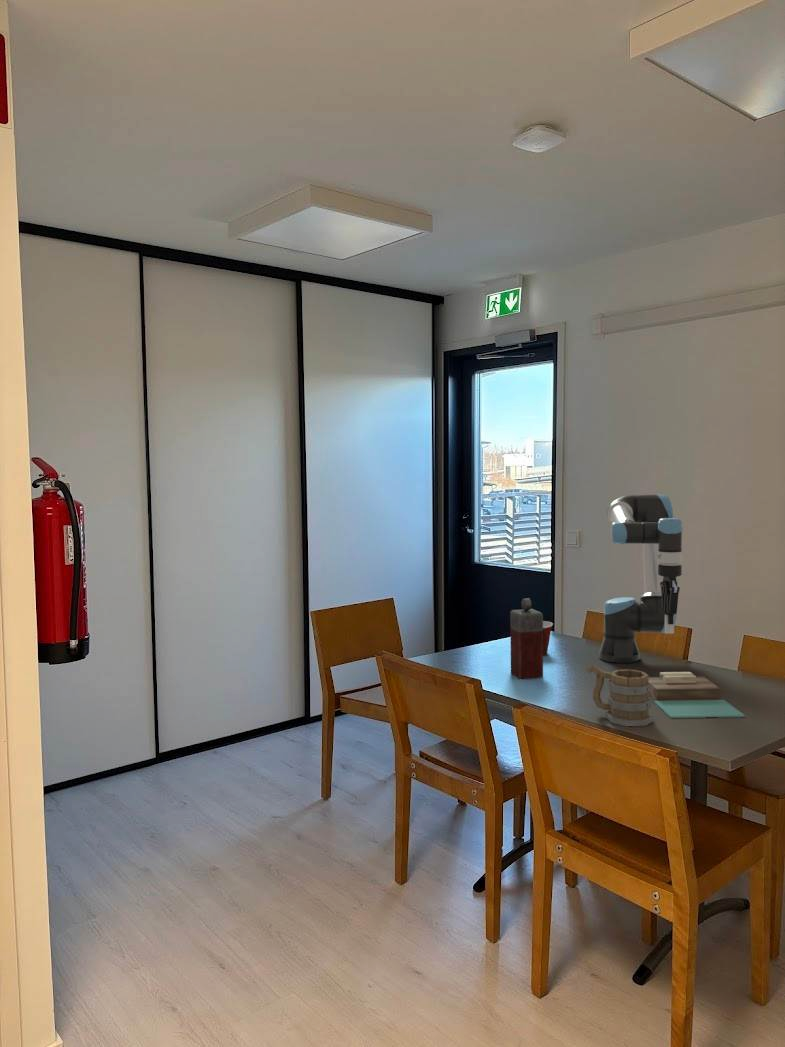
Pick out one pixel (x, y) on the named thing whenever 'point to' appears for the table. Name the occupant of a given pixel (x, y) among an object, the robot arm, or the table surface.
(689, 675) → the tile
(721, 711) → the mat
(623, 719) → the tankard
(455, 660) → the table surface
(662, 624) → the robot arm
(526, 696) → the table surface
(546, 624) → the plastic cup
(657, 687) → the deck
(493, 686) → the table surface
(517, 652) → the toy vending machine
